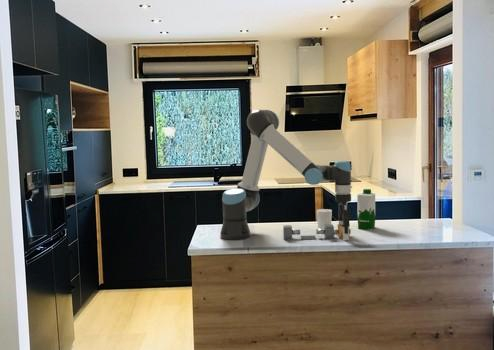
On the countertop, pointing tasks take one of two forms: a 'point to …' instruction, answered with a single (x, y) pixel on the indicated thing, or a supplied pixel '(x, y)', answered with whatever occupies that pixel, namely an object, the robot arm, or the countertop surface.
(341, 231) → the coupler
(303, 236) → the pad
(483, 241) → the countertop surface
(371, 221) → the milk carton
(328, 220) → the white cup
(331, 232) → the grey knob with stem
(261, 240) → the countertop surface
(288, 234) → the bearing
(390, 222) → the countertop surface
